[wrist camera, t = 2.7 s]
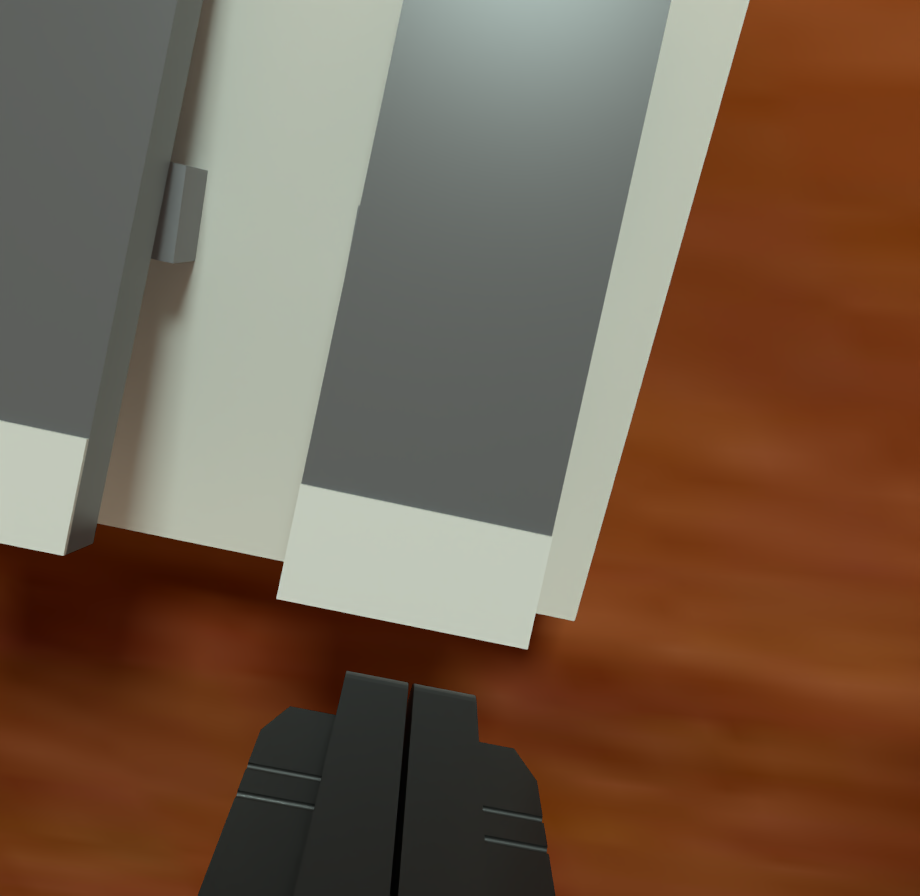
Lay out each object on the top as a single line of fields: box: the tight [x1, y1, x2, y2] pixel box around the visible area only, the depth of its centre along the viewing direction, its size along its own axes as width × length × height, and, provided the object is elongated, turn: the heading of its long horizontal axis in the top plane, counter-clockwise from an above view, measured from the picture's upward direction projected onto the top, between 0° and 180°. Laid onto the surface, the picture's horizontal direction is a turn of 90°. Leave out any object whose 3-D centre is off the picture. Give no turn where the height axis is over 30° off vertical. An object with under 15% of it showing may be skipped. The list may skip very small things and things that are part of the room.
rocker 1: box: [0, 0, 203, 556], centre depth 14 cm, size 12×4×1 cm, turn 167°
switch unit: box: [97, 0, 749, 621], centre depth 17 cm, size 20×24×4 cm
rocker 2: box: [276, 0, 671, 650], centre depth 15 cm, size 12×4×1 cm, turn 167°
